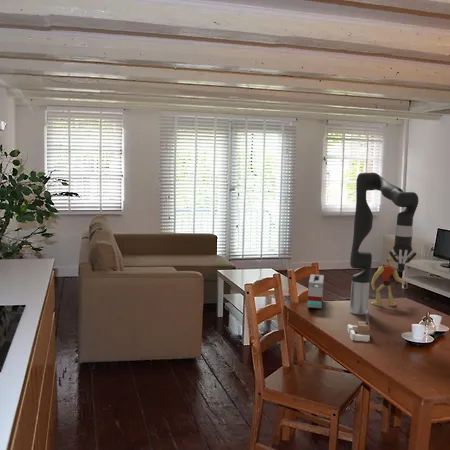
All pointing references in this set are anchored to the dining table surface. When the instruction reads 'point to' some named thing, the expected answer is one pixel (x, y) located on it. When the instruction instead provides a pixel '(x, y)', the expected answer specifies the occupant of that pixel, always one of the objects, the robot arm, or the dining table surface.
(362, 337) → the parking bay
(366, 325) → the tan block
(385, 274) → the toy
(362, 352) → the dining table surface
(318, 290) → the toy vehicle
